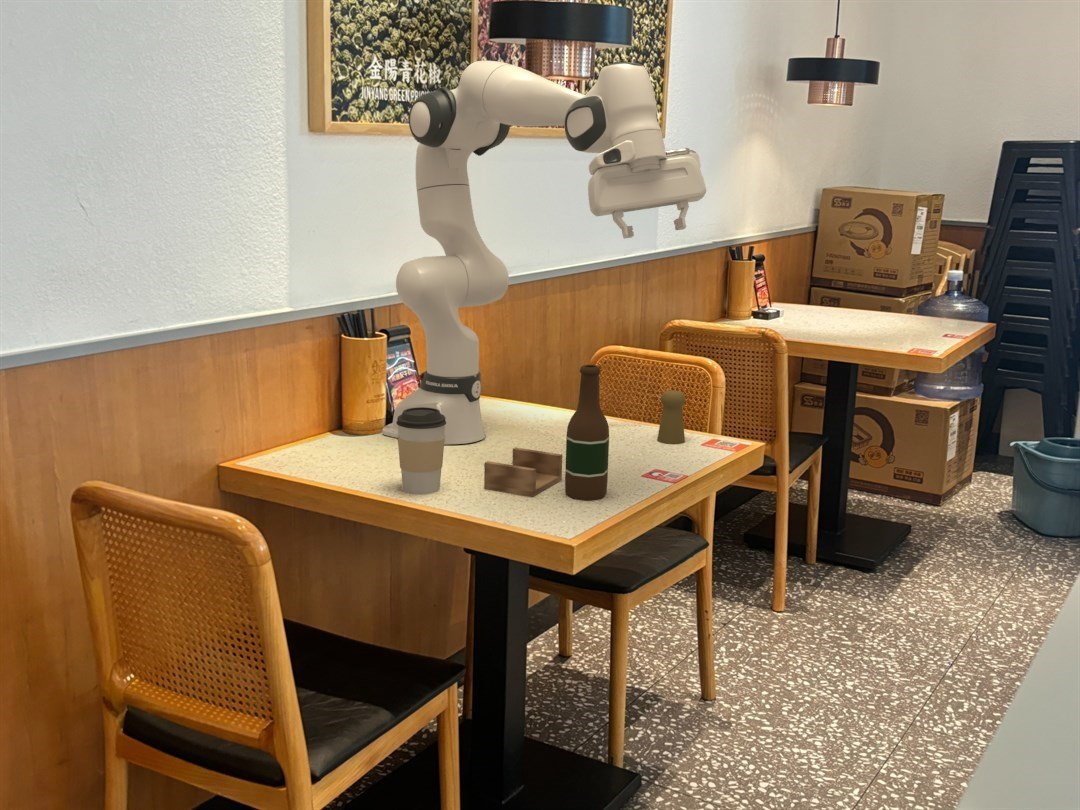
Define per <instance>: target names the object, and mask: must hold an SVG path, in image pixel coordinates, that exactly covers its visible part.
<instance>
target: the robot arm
mask: <svg viewBox="0 0 1080 810" xmlns="http://www.w3.org/2000/svg"><path fill="white" fill-rule="evenodd" d="M657 112H658V107H657V102H656V97H655V91H654V87H653V84H652V80H651V78H650V74H649V73H648V70H647V69H646V68H645V66H644V65H642V64H641V63H638V62H633V61H630V62H629V61H622V62H621V61H619V62H613V63H610V64H607V65H605V66H604V67H602V68H601V70H600V72H599V75H598V78H597V80H596V81H595V84H593V86H592V87H591V88H590V90H588V91H587V92H586V93H585V94H584V93H582V92H579V91H574V90H572V89H570V88H568V87H566V86H563V85H561V84H559V83H556V82H554V81H551V80H549V79H548V78H545V77H543V76H542V75H539V74H536V73H535V72H533V71H530V70H527V69H525V68H522V67H521V66H517V65H514V64H511V63H507V62H503V61H497V60H477V61H475V62H472V63H470V64H469V65H468V66H467V67H466V68H465V69H464V70H463V71H462V74H461V76H460V79H459V83H458V86H457V87H456V88H453V89H448V88H447V87H446V86H442V87H439V88H438V89H435V90H434V91H431V92H427V93H425V94H422V95H420V96H419V97H417V98H416V99H415V100H414V101H413V103H412V105H411V107H410V110H409V114H408V126H409V129H410V133H411V135H412V137H413V138H414V140H415V141H416V142H417V143H419V144H418V146H417V148H416V155H415V185H416V186H415V188H416V189H415V190H416V195H417V204H418V214H419V222H420V223H419V224H420V226H421V228H422V230H423V231H424V233H425V234H426V235H428V236H429V237H431V238H432V239H435V240H436V241H437V242H438V244H440V246H441V247H442V249H443V251H444V255H434V256H423V257H419V258H416V259H413V260H409V261H406V262H404V263H403V264H402V265H401V267H400V268H399V270H398V272H397V275H396V280H395V287H396V293H397V294H398V297H399V299H400V300H401V301H402V303H403V304H404V305H405V306H406V307H407V308H408V309H410V310H411V311H412V312H413V313H414V314H415V316H417V318H418V320H419V322H420V324H421V327H422V330H423V332H424V337H425V343H426V345H425V347H426V349H425V350H426V371H423V372H421V373H420V374H417V375H416V376H415V377H416V379H415V381H416V382H418V381H420V383H419V387H418V388H417V389H415V391H413V392H411V393H410V394H409V395H408V396H406V397H405V398H403V400H401V401H400V402H398V403H397V405H396V407H395V409H394V412H393V419H392V422H391V423H389V424H387V425H384V427H383V428H382V432H381V434H382V435H385V436H387V437H392V438H395V439H398V425H397V424H396V422H397V418H398V416H400V415H402V413H403V411H404V410H406V409H409V408H417V407H427V408H435V409H438V410H439V411H440V413H441V414H442V415H444V416H445V421H446V424H445V431H444V435H445V441H444V446H445V445H461V444H470V443H475V442H479V441H481V440H483V439H485V438H486V432H485V428H484V425H483V424H484V423H483V420H482V413H481V404H480V403H481V402H480V398H481V392H482V390H481V389H482V388H481V387H482V382H481V381H482V379H481V372H480V371H479V370H480V363H479V362H480V339H479V337H478V335H477V334H476V332H475V331H474V330H473V329H471V328H470V327H468V326H466V325H465V324H463V323H462V321H461V318H460V315H459V308H468V307H470V308H471V307H481V306H485V305H488V304H492V303H495V302H498V301H499V300H501V299H503V298H504V296H505V295H506V294H507V290H508V289H509V284H510V283H509V282H510V278H509V271H508V269H507V267H506V265H505V263H504V262H503V260H502V259H501V258H499V257H498V256H496V255H495V254H494V253H493V252H492V251H491V250H490V249H489V248H488V247H487V245H486V244H485V242H484V241H483V239H482V237H481V235H480V233H479V231H478V227H477V226H476V225H477V223H476V221H475V217H474V210H473V205H472V198H471V196H472V195H471V189H470V180H469V173H468V161H469V158H470V156H471V154H472V153H473V154H475V155H476V156H478V157H481V156H483V155H485V153H487V152H488V151H489V150H491V149H493V148H494V149H495V148H496V147H497V146H499V145H501V144H502V143H503V142H504V141H505V139H506V138H507V137H508V135H509V132H510V129H511V126H513V127H531V128H532V127H533V128H534V127H564V132H565V136H566V139H567V142H568V143H569V144H570V146H571V147H572V148H573V149H574V150H575V151H577V152H583V153H587V154H588V153H589V154H597V155H596V156H594V157H593V158H592V160H591V161H590V163H589V164H588V172H589V174H590V175H591V177H590V179H589V181H588V184H587V191H588V193H587V194H588V204H589V209H590V212H591V213H592V214H593V215H594V216H595V217H603V216H608V215H612V216H611V217H612V221H613V223H615V224H616V226H618V228H619V229H620V230H621V235H622V238H623V239H625V240H626V239H630V238H633V237H634V235H635V233H634V231H633V230H634V229H633V225H627V224H626V222H625V221H624V219H623V217H624V216H625V215H624V213H628V212H634V211H641V210H647V209H648V210H649V209H653V208H654V209H655V208H660V207H661V208H662V207H667V206H669V207H670V206H674V205H675V206H676V208H677V211H680V212H679V215H678V217H677V218H676V219H674V220H673V225H674V230H675V231H681V230H685V229H686V228H687V222H686V216H687V214H688V211H689V207H690V205H689V203H692V202H693V203H694V202H699V201H700V200H702V199H703V198H704V197H705V195H706V192H707V187H706V183H705V180H704V175H703V174H702V171H701V160H700V156H699V154H698V153H697V152H696V151H694V149H690V148H688V147H684V148H681V149H669V150H666V147H665V143H664V137H663V132H662V128H661V126H660V124H659V122H658V119H657V116H658V114H657Z"/></svg>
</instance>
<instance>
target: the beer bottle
mask: <svg viewBox="0 0 1080 810" xmlns="http://www.w3.org/2000/svg"><path fill="white" fill-rule="evenodd" d="M579 373H580V384H579V393H578V395H579V396H578V402H577V403H578V404H577V407H576V410H575V412H574V413H573V415H572V416H571V418H570V419H569V422H568V425H567V428H566V430H567V431H566V441H565V470H564V471H565V472H564V475H565V476H564V478H565V479H564V489H565V490H564V491H565V492H564V493H565V495H566V496H568V497H570V498H571V499H572V500H580V501H587V502H588V501H596V500H597V501H598V500H602V499H603V497H605V496H606V494H607V489H608V480H609V479H608V478H609V477H608V476H609V456H610V455H609V452H610V426H609V423H608V420H607V418H606V416H605V414H604V413H603V412H602V409H601V402H600V373H602V371H601V368H600V366H598V365H595V364H584V365H582V366H581V367H580V369H579Z"/></svg>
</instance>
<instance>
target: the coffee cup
mask: <svg viewBox="0 0 1080 810" xmlns="http://www.w3.org/2000/svg"><path fill="white" fill-rule="evenodd" d="M396 424H397V425H398V438H397V444H398V445H397V446H398V457H399V458H398V459H399V468H400V471H401V472H400V473H401V484H402V490H403V492H405V493H408V494H413V495H428V494H433V493H434V494H435V493H436V492H438V491H440V489H441V478H442V477H441V476H442V468H443V463H444V462H443V461H444V451H445V445H444V441H445V435H444V431H445V424H446V421H445V416H444V415H442V414H441V413H440V411H439V410H438V409H435V408H427V407H417V408H409V409H406V410H404V411H403V413H402V415H400V416H398V418H397V422H396Z"/></svg>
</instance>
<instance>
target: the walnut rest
mask: <svg viewBox="0 0 1080 810" xmlns="http://www.w3.org/2000/svg"><path fill="white" fill-rule="evenodd" d="M483 465H484V468H483V469H484V471H483V473H484V477H483V478H484V479H483V483H484V484H483V489H484V490H488V491H489V490H490V491H494V492H495V491H496V492H502V493H508V494H511V495H512V494H513V495H518V496H524V497H531V498H534V497H535V496H537V495H539V494H540V493H542V492H543V491H546V490H547V489H549V488H550V487H552V486H553V485H556V484H557V483H558V482H561V481H562V476H563V454H562V453H561V454H559V453H553V452H547V451H541V450H536V449H535V450H534V449H529V448H522V447H513V448H512V464H510V463H509V464H506V463H502V462H494V461H490V460H487V461H485V462H484V464H483Z"/></svg>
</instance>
